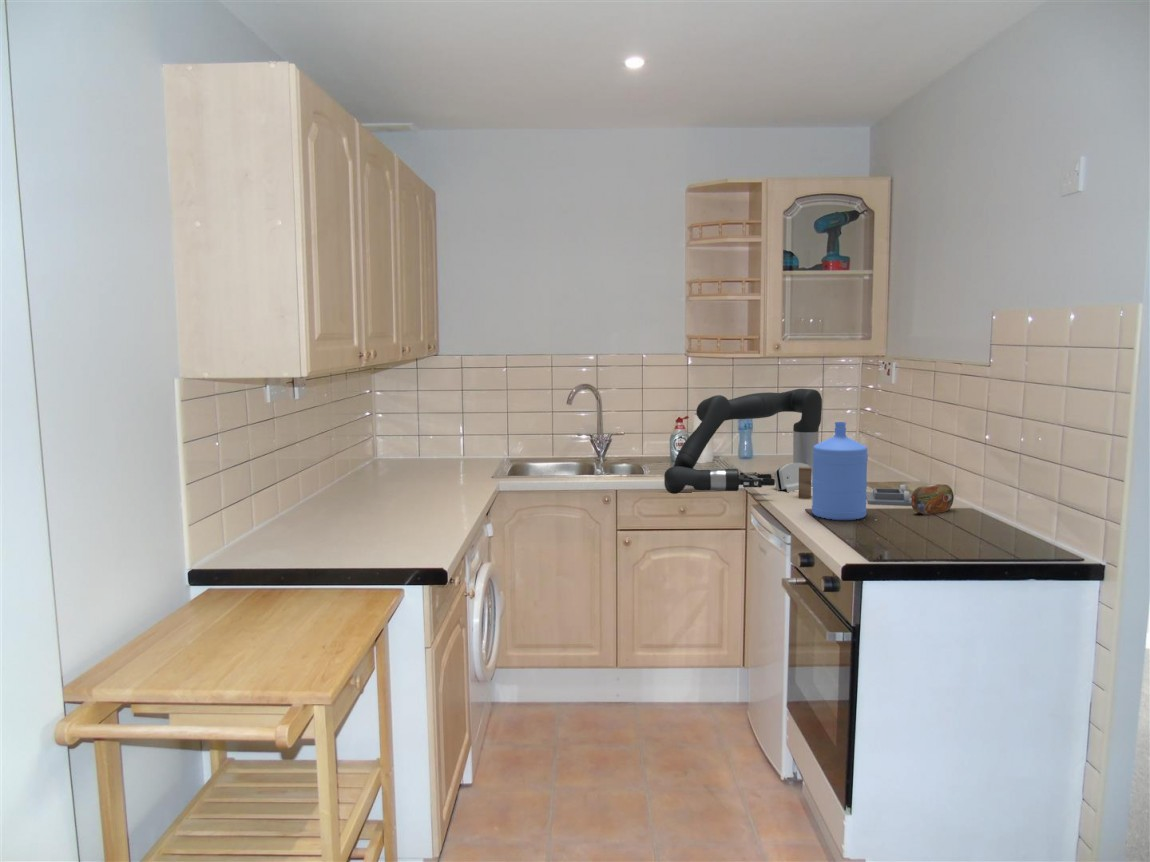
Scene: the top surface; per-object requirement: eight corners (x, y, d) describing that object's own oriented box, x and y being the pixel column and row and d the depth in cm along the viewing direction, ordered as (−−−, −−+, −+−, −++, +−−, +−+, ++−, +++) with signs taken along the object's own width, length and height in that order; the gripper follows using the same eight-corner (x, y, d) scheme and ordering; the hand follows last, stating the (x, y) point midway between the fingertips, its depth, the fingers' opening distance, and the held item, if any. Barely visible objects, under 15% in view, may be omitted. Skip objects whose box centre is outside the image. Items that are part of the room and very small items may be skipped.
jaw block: (798, 495, 271) (798, 466, 270) (810, 496, 270) (811, 466, 269) (798, 498, 267) (798, 468, 266) (810, 498, 266) (811, 468, 265)
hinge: (787, 492, 277) (780, 464, 279) (777, 495, 281) (770, 467, 282) (819, 486, 286) (811, 459, 288) (808, 489, 290) (801, 462, 292)
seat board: (865, 494, 270) (865, 483, 270) (906, 496, 267) (907, 484, 266) (868, 504, 256) (868, 491, 256) (912, 505, 253) (912, 493, 252)
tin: (917, 516, 239) (917, 488, 238) (908, 514, 242) (909, 486, 241) (954, 510, 245) (955, 483, 244) (945, 508, 248) (946, 481, 247)
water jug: (854, 523, 231) (856, 427, 228) (802, 516, 241) (804, 423, 238) (874, 513, 243) (876, 421, 240) (824, 507, 253) (826, 418, 250)
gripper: (725, 472, 263) (776, 472, 262) (722, 465, 278) (770, 465, 276) (725, 495, 264) (776, 495, 263) (722, 486, 278) (770, 486, 277)
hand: (773, 479), depth 269 cm, fingers open, 8 cm apart
